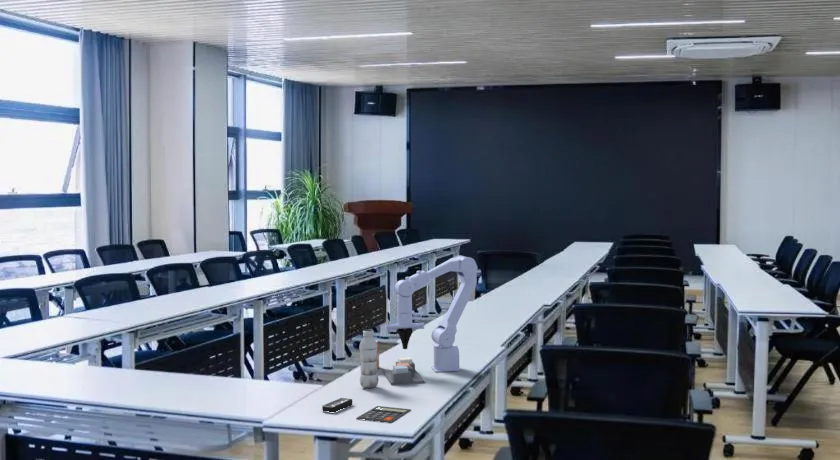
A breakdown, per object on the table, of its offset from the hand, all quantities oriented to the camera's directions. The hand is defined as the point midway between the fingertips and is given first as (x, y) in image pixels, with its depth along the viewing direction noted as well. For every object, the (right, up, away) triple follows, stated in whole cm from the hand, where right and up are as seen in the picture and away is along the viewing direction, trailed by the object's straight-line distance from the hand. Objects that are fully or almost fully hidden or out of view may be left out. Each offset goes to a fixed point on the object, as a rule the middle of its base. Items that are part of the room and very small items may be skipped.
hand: (404, 348), depth 312 cm
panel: (-1, -10, -7) cm, 12 cm away
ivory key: (0, -6, 0) cm, 6 cm away
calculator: (-5, -13, -55) cm, 57 cm away
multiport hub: (-20, -13, -47) cm, 53 cm away
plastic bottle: (-12, -11, -21) cm, 27 cm away
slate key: (-1, -7, -14) cm, 16 cm away
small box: (-14, -9, +8) cm, 18 cm away
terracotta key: (-1, -7, -7) cm, 10 cm away
